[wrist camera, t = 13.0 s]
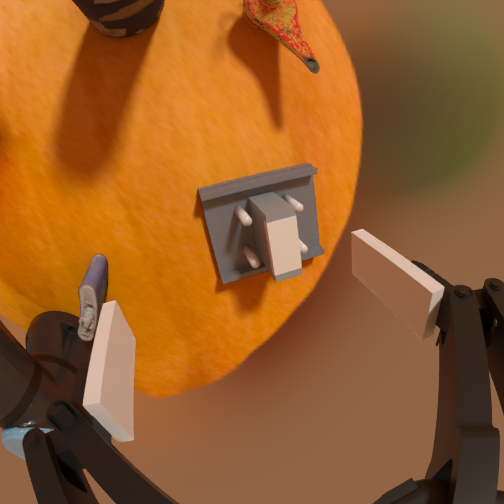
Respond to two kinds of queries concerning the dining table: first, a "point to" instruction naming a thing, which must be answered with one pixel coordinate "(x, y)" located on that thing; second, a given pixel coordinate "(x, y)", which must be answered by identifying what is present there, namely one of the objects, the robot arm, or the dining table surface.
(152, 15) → the canister
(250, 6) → the magic lamp
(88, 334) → the flask
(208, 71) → the dining table surface
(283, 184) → the grey pegged base
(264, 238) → the block
